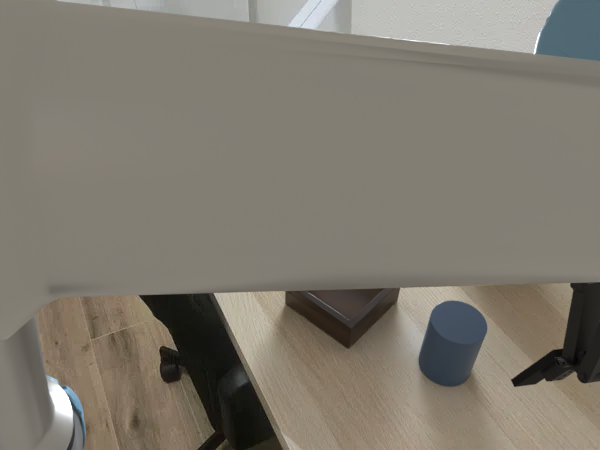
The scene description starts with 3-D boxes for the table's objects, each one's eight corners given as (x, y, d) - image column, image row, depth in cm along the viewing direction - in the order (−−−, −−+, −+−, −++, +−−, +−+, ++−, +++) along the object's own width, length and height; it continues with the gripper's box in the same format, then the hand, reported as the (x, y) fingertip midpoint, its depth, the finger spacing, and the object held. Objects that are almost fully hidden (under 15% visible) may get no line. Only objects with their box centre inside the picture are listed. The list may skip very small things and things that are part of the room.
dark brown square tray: (348, 349, 76) (351, 328, 73) (284, 303, 82) (285, 283, 79) (397, 301, 83) (402, 280, 80) (335, 262, 89) (337, 242, 86)
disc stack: (454, 396, 71) (470, 354, 65) (408, 365, 74) (419, 322, 68) (479, 363, 75) (497, 320, 69) (435, 334, 78) (448, 291, 72)
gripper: (796, 326, 37) (581, 435, 52) (594, 85, 51) (473, 226, 66) (724, 334, 34) (520, 446, 49) (532, 77, 48) (420, 226, 63)
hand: (493, 320), depth 58 cm, fingers open, 13 cm apart
